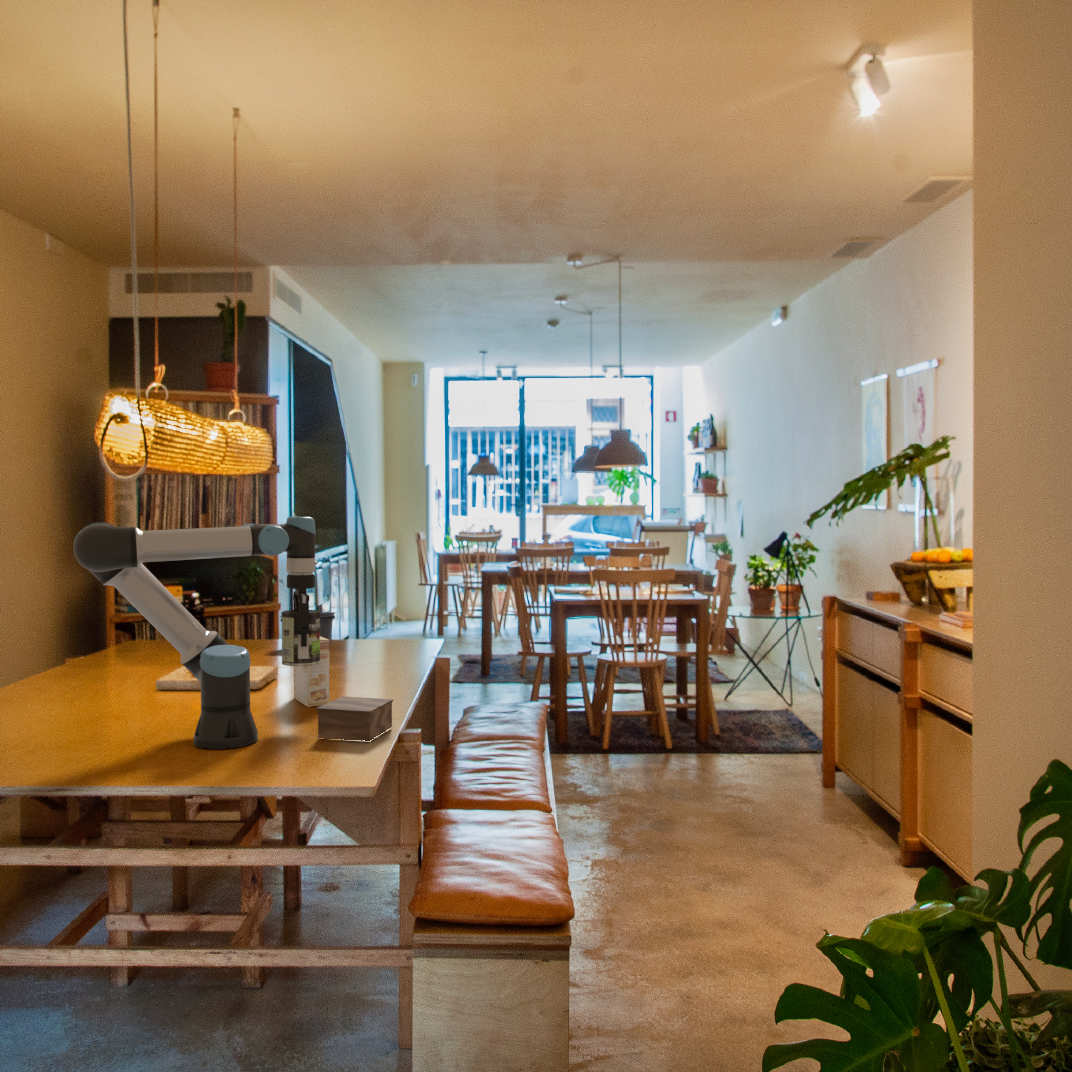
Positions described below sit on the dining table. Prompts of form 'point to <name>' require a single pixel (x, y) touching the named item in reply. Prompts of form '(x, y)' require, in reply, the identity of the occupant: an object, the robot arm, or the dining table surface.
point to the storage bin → (325, 624)
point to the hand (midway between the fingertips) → (300, 655)
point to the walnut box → (354, 718)
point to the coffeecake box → (314, 680)
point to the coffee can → (291, 639)
